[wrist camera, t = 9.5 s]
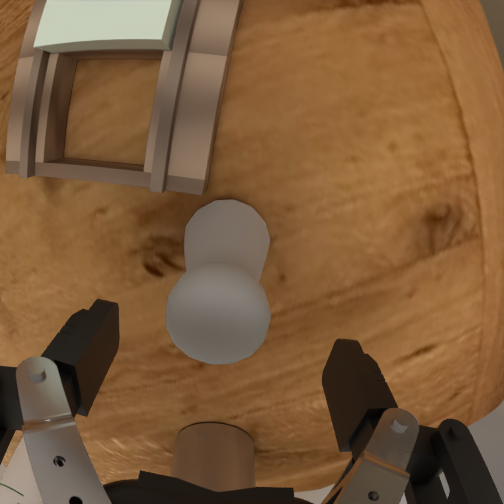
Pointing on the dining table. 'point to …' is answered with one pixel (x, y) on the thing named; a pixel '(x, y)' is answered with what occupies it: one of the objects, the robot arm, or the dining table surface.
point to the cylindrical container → (19, 480)
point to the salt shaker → (221, 285)
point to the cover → (107, 25)
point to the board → (163, 112)
